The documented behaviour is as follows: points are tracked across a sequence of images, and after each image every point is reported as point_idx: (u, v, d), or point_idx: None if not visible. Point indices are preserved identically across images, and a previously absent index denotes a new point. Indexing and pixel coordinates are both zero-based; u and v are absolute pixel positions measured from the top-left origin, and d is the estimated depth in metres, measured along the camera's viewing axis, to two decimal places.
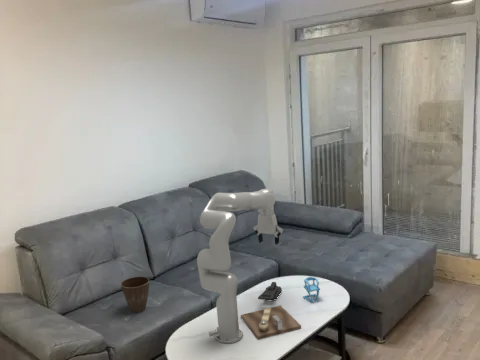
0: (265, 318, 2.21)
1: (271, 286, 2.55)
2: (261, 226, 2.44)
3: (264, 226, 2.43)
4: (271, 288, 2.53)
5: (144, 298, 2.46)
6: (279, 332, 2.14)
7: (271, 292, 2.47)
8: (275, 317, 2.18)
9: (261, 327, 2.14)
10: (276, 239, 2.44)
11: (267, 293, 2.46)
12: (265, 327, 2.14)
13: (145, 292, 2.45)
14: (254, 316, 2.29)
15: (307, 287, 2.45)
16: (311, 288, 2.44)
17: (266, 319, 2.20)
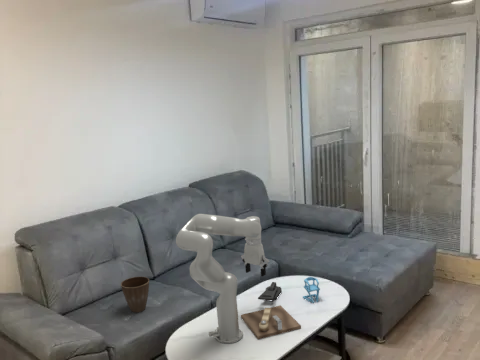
0: (265, 318, 2.21)
1: (271, 286, 2.54)
2: (247, 256, 2.31)
3: (250, 256, 2.30)
4: (271, 288, 2.53)
5: (144, 298, 2.46)
6: (279, 332, 2.14)
7: (271, 292, 2.47)
8: (275, 317, 2.18)
9: (261, 327, 2.14)
10: (262, 271, 2.29)
11: (267, 293, 2.45)
12: (265, 327, 2.14)
13: (145, 292, 2.45)
14: (254, 316, 2.29)
15: (307, 287, 2.45)
16: (311, 288, 2.44)
17: (266, 319, 2.20)
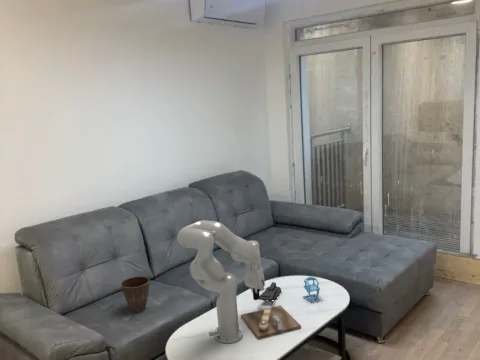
0: (265, 318, 2.21)
1: (271, 287, 2.54)
2: (247, 280, 2.31)
3: (250, 280, 2.30)
4: (271, 289, 2.53)
5: (144, 298, 2.46)
6: (279, 332, 2.14)
7: (271, 293, 2.46)
8: (275, 317, 2.18)
9: (261, 327, 2.14)
10: (256, 295, 2.32)
11: (267, 294, 2.45)
12: (265, 327, 2.14)
13: (145, 292, 2.45)
14: (254, 316, 2.29)
15: (307, 287, 2.45)
16: (311, 288, 2.44)
17: (266, 319, 2.20)
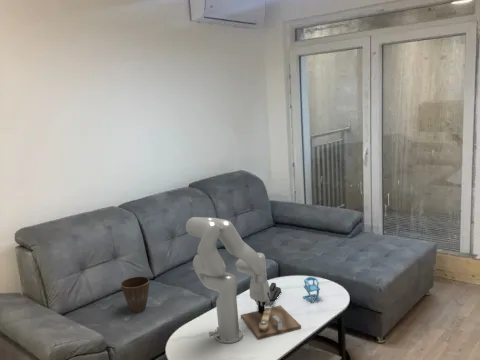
0: (265, 318, 2.21)
1: (270, 287, 2.54)
2: (253, 292, 2.30)
3: (255, 293, 2.28)
4: (270, 289, 2.52)
5: (144, 298, 2.46)
6: (279, 332, 2.14)
7: (270, 293, 2.46)
8: (275, 317, 2.18)
9: (261, 327, 2.14)
10: (261, 307, 2.31)
11: None
12: (265, 327, 2.14)
13: (145, 292, 2.45)
14: (254, 316, 2.29)
15: (307, 287, 2.45)
16: (311, 288, 2.44)
17: (266, 319, 2.20)
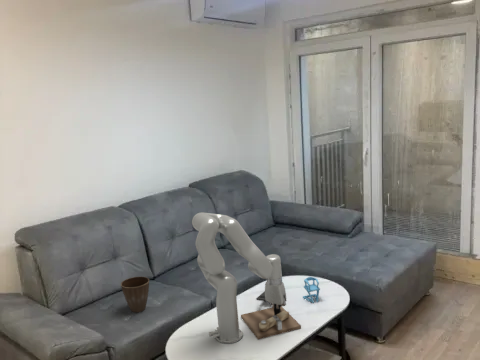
0: (271, 319, 2.19)
1: None
2: (268, 295, 2.24)
3: (271, 295, 2.23)
4: None
5: (144, 298, 2.46)
6: (279, 332, 2.14)
7: None
8: (275, 317, 2.18)
9: (259, 325, 2.15)
10: (277, 310, 2.25)
11: None
12: (262, 327, 2.14)
13: (145, 292, 2.45)
14: (254, 316, 2.29)
15: (307, 287, 2.45)
16: (311, 288, 2.44)
17: (270, 320, 2.18)
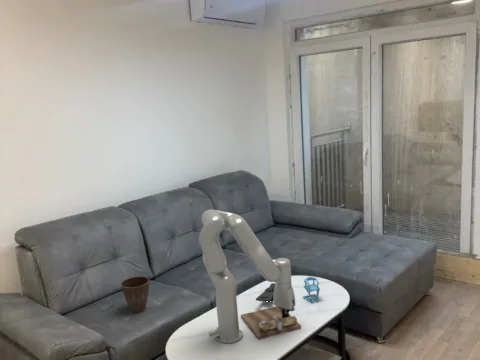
0: (274, 321, 2.17)
1: (270, 287, 2.53)
2: (277, 299, 2.20)
3: (280, 300, 2.19)
4: (270, 289, 2.52)
5: (144, 298, 2.46)
6: (279, 332, 2.14)
7: (269, 294, 2.45)
8: (275, 317, 2.18)
9: (259, 324, 2.17)
10: None
11: (265, 294, 2.44)
12: (260, 327, 2.15)
13: (145, 292, 2.45)
14: (254, 316, 2.29)
15: (307, 287, 2.45)
16: (311, 288, 2.44)
17: (272, 322, 2.16)
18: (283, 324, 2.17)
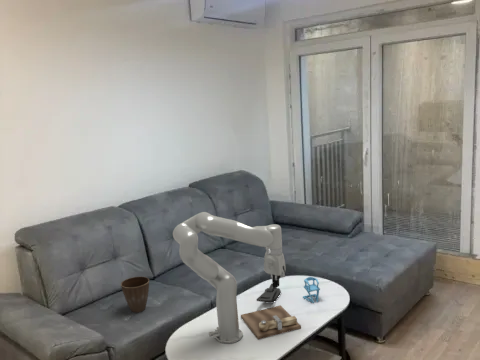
0: (274, 321, 2.17)
1: (270, 288, 2.52)
2: (267, 265, 2.20)
3: (270, 266, 2.19)
4: (270, 290, 2.51)
5: (144, 298, 2.46)
6: (279, 332, 2.14)
7: (270, 294, 2.45)
8: (275, 317, 2.18)
9: (259, 324, 2.17)
10: None
11: (266, 295, 2.43)
12: (260, 327, 2.15)
13: (145, 292, 2.45)
14: (254, 316, 2.29)
15: (307, 287, 2.45)
16: (311, 288, 2.44)
17: (272, 322, 2.16)
18: (283, 324, 2.17)
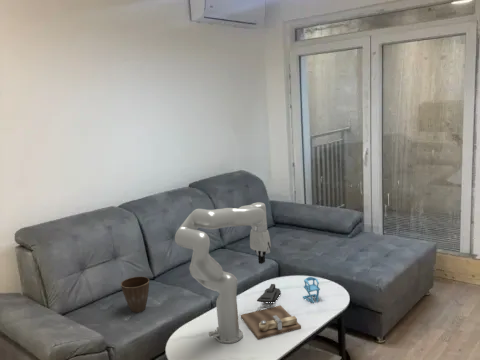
0: (274, 321, 2.17)
1: (270, 288, 2.52)
2: (253, 242, 2.28)
3: (256, 242, 2.27)
4: (270, 290, 2.51)
5: (144, 298, 2.46)
6: (279, 332, 2.14)
7: (270, 294, 2.44)
8: (275, 317, 2.18)
9: (259, 324, 2.17)
10: None
11: (266, 295, 2.43)
12: (260, 327, 2.15)
13: (145, 292, 2.45)
14: (254, 316, 2.29)
15: (307, 287, 2.45)
16: (311, 288, 2.44)
17: (272, 322, 2.16)
18: (283, 324, 2.17)
